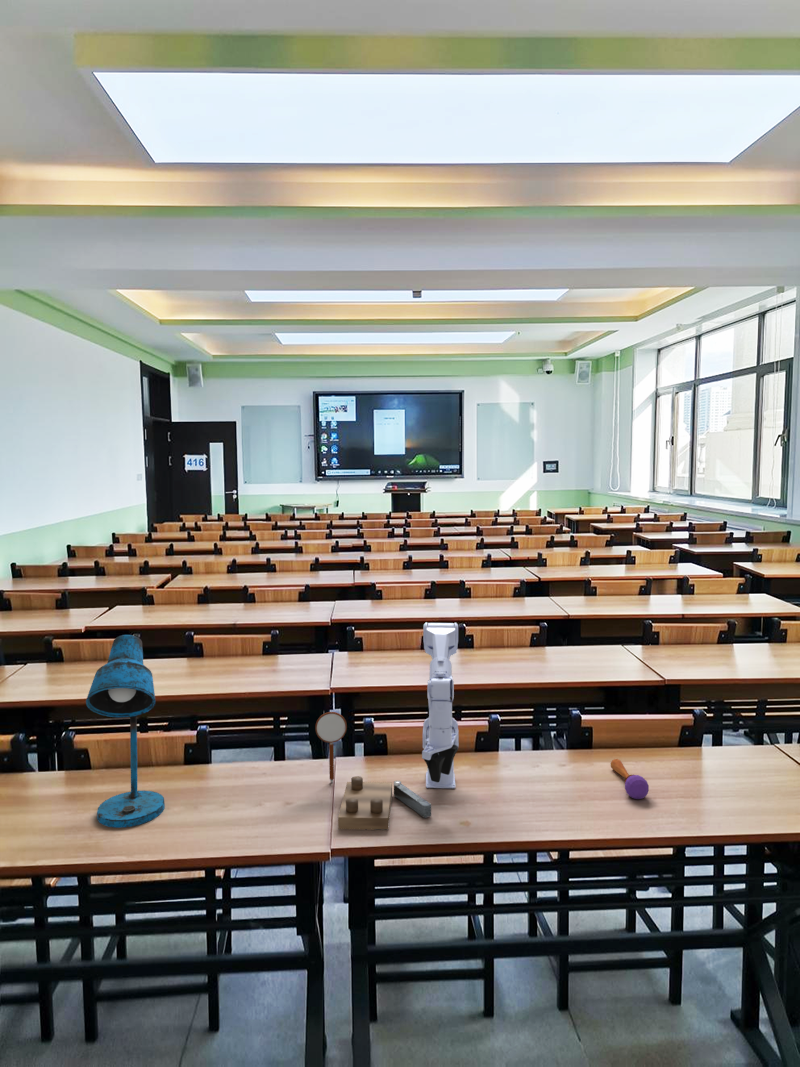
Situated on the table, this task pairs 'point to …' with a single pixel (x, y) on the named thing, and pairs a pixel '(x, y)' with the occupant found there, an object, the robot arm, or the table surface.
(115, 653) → the desk lamp
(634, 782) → the purple mallet
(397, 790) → the hinged leg
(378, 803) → the stool seat
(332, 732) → the magnifying glass
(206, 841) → the table surface
